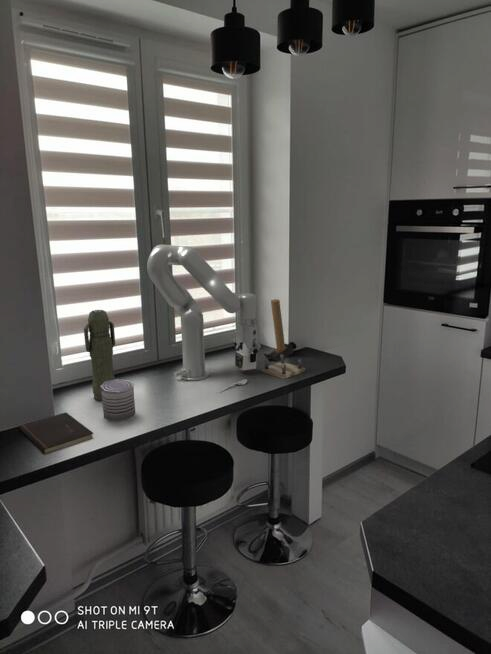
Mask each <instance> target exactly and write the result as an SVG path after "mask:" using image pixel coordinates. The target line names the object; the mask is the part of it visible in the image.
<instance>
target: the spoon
mask: <svg viewBox="0 0 491 654" xmlns="http://www.w3.org/2000/svg"><path fill="white" fill-rule="evenodd" d="M247 383H248V379H246V378H245V379H241V380H239V381H236V382H234V383H231V384H230V385H227V386H226V387H223V388H222V389H219V390H217V391H216V392H215V393H216V394H219V393H222V392H225V391H226V390H227V389H230V388H231V387H232V386H234V385H238V386H244V385H246V384H247Z"/></svg>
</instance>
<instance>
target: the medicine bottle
mask: <svg viewBox="0 0 491 654" xmlns="http://www.w3.org/2000/svg"><path fill="white" fill-rule="evenodd" d="M252 347H253V346H252ZM239 350H240V351H235V358H234V359H235V360H234V361H235V363H234V366H235V367H237V368H238V369H239V370H241V371H246V370H254V369H257V361H256V362H253V363H251V362H250V354H251V351H250V349H249V348H247V346H246V344H245V343H242V342H240V347H239ZM257 354H258V353H256V360H257V357H258V355H257Z"/></svg>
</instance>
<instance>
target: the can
mask: <svg viewBox="0 0 491 654" xmlns="http://www.w3.org/2000/svg"><path fill="white" fill-rule="evenodd" d="M134 386H135V384H134V383H133V382H131V380H129V379H128V380H127V379H120V378H119V379H118V378H115V380H110V381H105V382H104V383H103V384H102V385H101V386H100V387H101V388H102V389H101V391H102V401H101V402H102V410H103V411H102V413H103V419H105V420H106V421H108V422H115V423H116V422H117V423H119V422H124V421H129V420H130V419H133V418H134V417H135V414H136V405H135V404H136V403H135V390H134Z"/></svg>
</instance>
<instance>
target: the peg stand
mask: <svg viewBox="0 0 491 654" xmlns="http://www.w3.org/2000/svg"><path fill="white" fill-rule="evenodd" d="M302 361H303V360H302V358H301V359H300V358H298V359H297V365H296V364H293V363H292V364H291V363H288V362H285V358H284V355H281V359H280V362H277V363H274V364H271V365H269V359H267V358H266V359H264V367H262V368H260V369H261V372H262V373H265V374H267V375H271V376H274V377H277V378H280V379H284V380H285V379H288V378H290V377H293V376H295V375H299V374H301V372H302V373H304V372H306V367H304V366H302V365H303V363H302Z"/></svg>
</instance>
